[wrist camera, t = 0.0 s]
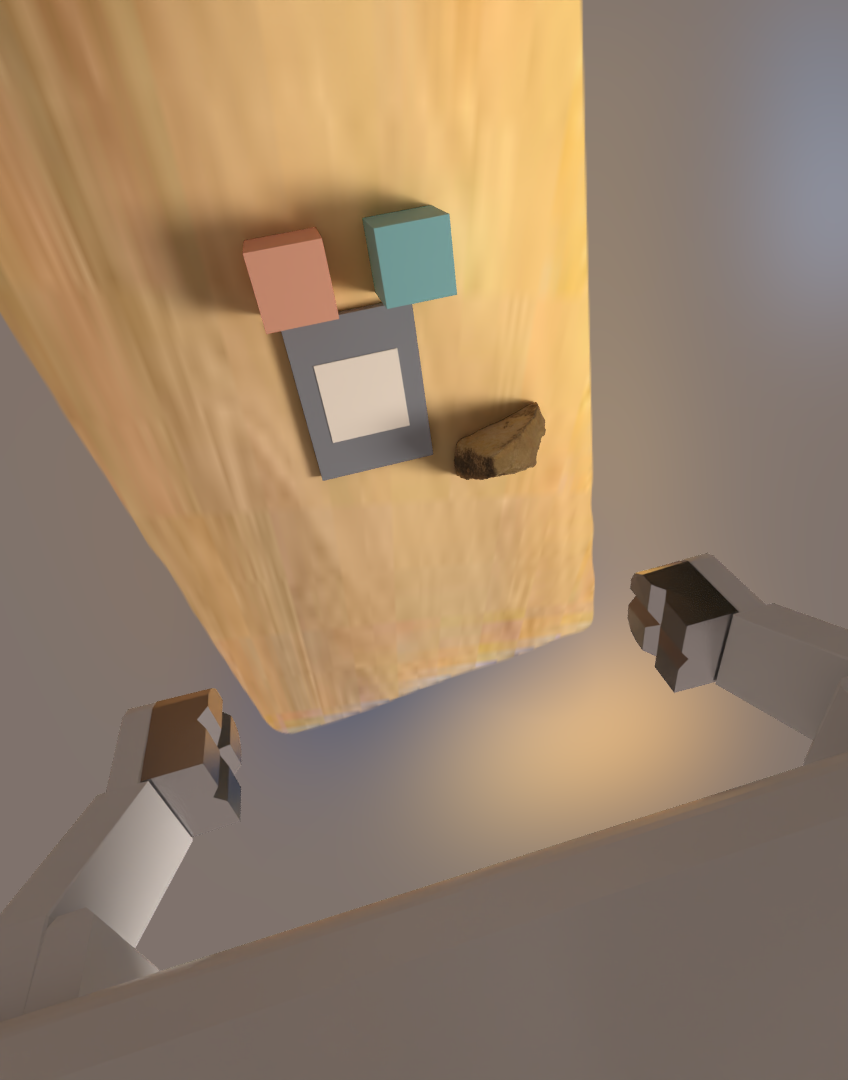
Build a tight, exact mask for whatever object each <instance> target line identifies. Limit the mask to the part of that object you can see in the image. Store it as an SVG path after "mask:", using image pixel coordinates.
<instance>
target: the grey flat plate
mask: <svg viewBox="0 0 848 1080" xmlns="http://www.w3.org/2000/svg"><path fill="white" fill-rule="evenodd" d="M338 315H339V319H337V320H332V321H327V322H322V323H317V324H312V325H308V326H303V327H298V328H293V329H288V330H284V331H281V332H282V336H283V339H284V343H285V347H286V350H287V354H288V357H289V361H290V365H291V368H292V372H293V375H294V379H295V382H296V386H297V390H298V393H299V397H300V400H301V404H302V408H303V411H304V415H305V418H306V422H307V426H308V429H309V433H310V436H311V440H312V444H313V447H314V451H315V454H316V458H317V461H318V465H319V469H320V472H321V476H322V479H323V481H324V480H329V479H333V478H337V477H341V476H345V475H350V474H354V473H358V472H362V471H366V470H371V469H375V468H379V467H383V466H387V465H392V464H396V463H400V462H404V461H408V460H413V459H417V458H421V457H425V456H430V455H433V450H432V442H431V435H430V428H429V421H428V414H427V407H426V400H425V393H424V386H423V379H422V371H421V364H420V357H419V350H418V343H417V336H416V329H415V322H414V315H413V308H412V304H409V305H404V306H400V307H395V308H390V309H387V308H386V307H385V305H384V304H383V303H379V304H374V305H369V306H364V307H359V308H355V309H350V310H345V311H340V312H338Z"/></svg>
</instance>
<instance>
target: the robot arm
mask: <svg viewBox="0 0 848 1080" xmlns="http://www.w3.org/2000/svg"><path fill="white" fill-rule="evenodd" d="M630 589H631V590H632V591H633V593H634V594H635V595H636V596H635V597H634V599H633V600H632V601H631V603H630V604H629V606H628V621H629V625H630V629H631V632H632V634H633V636H634V638H635V640H636V642H637V643H638V644H639V646H640V647H641V649H642V650H644V651H646V652H648V653H650V654H652V655H654V656H656V661H655V668H656V669H657V670H658V672H659V673H660V674H661V676H662V677H663V678H664V680H665V681H666V682H667V684H668V685H669V686H670V688H671V689H672V690H673V692H678V691H682V690H686V689H690V688H694V687H697V686H701V685H705V684H709V683H712V682H716V685H718V686H720V687H722V688H723V689H725V690H727V691H729V692H730V693H732V694H734V695H736V696H737V697H739V698H741V699H743V700H744V701H746V702H748V703H749V704H751V705H753V706H755V707H756V708H758V709H760V710H761V711H763V712H765V713H767V714H768V715H770V716H772V717H774V718H775V719H777V720H779V721H781V722H782V723H784V724H786V725H787V726H789V727H791V728H793V729H795V730H796V731H798V732H800V733H801V734H803V735H805V736H806V737H808V738H810V739H812V740H813V741H812V744H811V746H810V748H809V750H808V752H807V755H806V757H805V759H804V763H803V766H801V767H798V768H795V769H792V770H789V771H786V772H782V773H779V774H776V775H773V776H770V777H767V778H764V779H761V780H757V781H754V782H752V783H748V784H745V785H742V786H739V787H735V788H733V789H729V790H726V791H723V792H720V793H717V794H714V795H710V796H707V797H704V798H701V799H698V800H695V801H692V802H688V803H686V804H682V805H679V806H676V807H673V808H670V809H666V810H663V811H660V812H657V813H654V814H651V815H648V816H645V817H641V818H638V819H635V820H632V821H629V822H626V823H622V824H619V825H616V826H613V827H610V828H607V829H604V830H600V831H597V832H594V833H591V834H588V835H585V836H582V837H579V838H575V839H572V840H569V841H566V842H563V843H560V844H557V845H553V846H550V847H547V848H544V849H541V850H538V851H535V852H532V853H528V854H525V855H523V856H519V857H516V858H513V859H510V860H507V861H503V862H500V863H497V864H494V865H491V866H488V867H485V868H481V869H478V870H475V871H472V872H469V873H466V874H463V875H460V876H456V877H453V878H450V879H447V880H444V881H441V882H438V883H435V884H432V885H428V886H425V887H422V888H419V889H416V890H413V891H410V892H407V893H403V894H400V895H398V896H394V897H391V898H388V899H385V900H381V901H378V902H376V903H372V904H369V905H366V906H363V907H359V908H356V909H353V910H350V911H347V912H344V913H341V914H338V915H334V916H331V917H328V918H325V919H322V920H319V921H316V922H313V923H309V924H306V925H303V926H300V927H297V928H294V929H291V930H287V931H284V932H281V933H278V934H275V935H272V936H269V937H266V938H262V939H260V940H256V941H253V942H250V943H247V944H244V945H241V946H237V947H234V948H231V949H228V950H225V951H222V952H219V953H216V954H213V955H209V956H206V957H203V958H200V959H197V960H194V961H190V962H187V963H184V964H181V965H178V966H175V967H172V968H169V969H165V970H162V971H160V970H159V969H158V968H157V967H156V966H155V965H154V964H152V963H151V962H150V961H149V960H148V959H147V958H145V957H144V956H143V955H142V954H141V953H140V952H138V951H137V950H136V949H135V947H136V945H137V944H138V942H139V940H140V938H141V936H142V934H143V932H144V930H145V928H146V927H147V925H148V923H149V921H150V919H151V917H152V916H153V914H154V912H155V910H156V908H157V906H158V904H159V902H160V901H161V899H162V897H163V895H164V893H165V891H166V889H167V887H168V886H169V884H170V882H171V880H172V878H173V876H174V874H175V873H176V871H177V869H178V867H179V865H180V863H181V861H182V859H183V858H184V856H185V854H186V852H187V850H188V848H189V846H190V844H191V843H192V841H193V839H192V837H194V836H197V835H200V834H203V833H206V832H209V831H212V830H215V829H218V828H221V827H224V826H227V825H230V824H233V823H236V822H239V821H240V814H241V812H240V811H241V786H240V784H239V782H238V781H237V779H236V777H235V774H236V772H237V771H238V769H239V768H240V766H241V744H240V738H239V733H238V730H237V728H236V724H235V722H234V720H233V718H232V717H231V715H229V714H227V713H224V712H222V703H223V700H222V698H221V697H220V695H219V693H218V692H217V690H216V689H213V688H211V689H207V690H203V691H198V692H194V693H190V694H186V695H182V696H178V697H174V698H170V699H166V700H162V701H158V702H156V703H152V704H148V705H144V706H140V707H135V708H131V709H128V710H127V712H126V713H125V715H124V716H123V718H122V722H121V726H120V731H119V735H118V740H117V745H116V749H115V753H114V758H113V762H112V767H111V772H110V776H109V781H108V785H107V790H106V793H103V794H100V795H97V796H96V797H95V799H94V800H93V801H92V802H91V803H90V805H89V806H88V807H87V808H86V810H85V811H84V812H83V813H82V815H81V816H80V817H79V818H78V819H77V821H76V822H75V823H74V824H73V826H72V827H71V828H70V829H69V830H68V832H67V833H66V834H65V835H64V836H63V838H62V839H61V840H60V841H59V843H58V844H57V845H56V846H55V847H54V849H53V850H52V851H51V852H50V854H49V855H48V856H47V857H46V859H45V860H44V861H43V862H42V863H41V865H40V866H39V867H38V868H37V870H36V871H35V872H34V873H33V874H32V876H31V877H30V878H29V879H28V881H27V882H26V883H25V884H24V885H23V887H22V888H21V889H20V890H19V892H18V893H17V894H16V895H15V897H14V898H13V899H12V900H11V901H10V903H9V904H8V905H7V906H6V908H5V909H4V910H3V911H2V912H1V914H0V1080H848V629H845V628H842V627H839V626H837V625H834V624H831V623H828V622H825V621H823V620H820V619H817V618H814V617H811V616H809V615H806V614H803V613H800V612H797V611H794V610H792V609H789V608H786V607H783V606H780V605H777V604H775V603H772V604H768V605H766V604H765V603H764V602H763V601H762V600H761V599H759V598H758V597H757V596H756V595H755V594H754V593H753V592H752V591H751V590H750V589H749V588H748V587H747V586H745V585H744V584H743V583H742V582H741V581H740V580H739V579H738V578H737V577H736V576H735V575H734V574H733V573H732V572H730V571H729V570H728V569H727V568H726V567H725V566H724V565H723V564H722V563H721V562H720V561H719V560H718V559H717V558H715V557H714V556H713V555H710V554H708V553H705V554H701V555H698V556H694V557H690V558H687V559H684V560H682V561H676V562H672V563H669V564H666V565H662V566H658V567H655V568H651V569H648V570H644V571H640V572H637V573H635V574H634V575H633V577H632V579H631V586H630Z"/></svg>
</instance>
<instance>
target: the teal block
mask: <svg viewBox="0 0 848 1080" xmlns="http://www.w3.org/2000/svg"><path fill="white" fill-rule="evenodd" d="M362 220H363V225H364V231H365V237H366V243H367V248H368V254H369V260H370V265H371V271H372V277H373V282H374V288H375V293H376V294H377V295H378V297H379V298H380V300H381V301H382V303H383V304H384V305H385V307H386V308H387V309H390V308H395V307H400V306H404V305H409V304H414V303H419V302H424V301H428V300H433V299H438V298H443V297H448V296H452V295H457V290H456V280H455V269H454V259H453V248H452V237H451V227H450V216H449V214H448V213H446V212H444V211H442V210H440V209H438V208H436V207H434V206H432V205H428V206H423V207H418V208H412V209H407V210H402V211H397V212H391V213H386V214H381V215H376V216H370V217H365V218H362Z"/></svg>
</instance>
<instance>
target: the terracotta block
mask: <svg viewBox="0 0 848 1080" xmlns="http://www.w3.org/2000/svg"><path fill="white" fill-rule="evenodd" d="M243 256H244V260H245V263H246V266H247V270H248V273H249V277H250V280H251V283H252V287H253V290H254V294H255V297H256V300H257V304H258V307H259V311H260V314H261V317H262V321H263V324H264V328H265V331H266V334H269V333H274V332H279V331H284V330H288V329H293V328H298V327H303V326H308V325H312V324H317V323H322V322H327V321H332V320H337V319H339V315H338V310H337V306H336V301H335V296H334V292H333V287H332V282H331V278H330V273H329V269H328V264H327V259H326V255H325V250H324V245H323V241H322V237H321V236H320V234H319V232H318V231H317V229H316V227H313V228H307V229H302V230H297V231H292V232H286V233H281V234H276V235H271V236H265V237H260V238H255V239H250V240H244V244H243Z"/></svg>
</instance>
